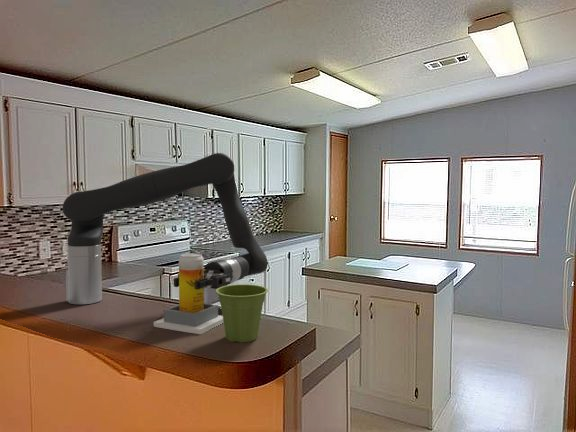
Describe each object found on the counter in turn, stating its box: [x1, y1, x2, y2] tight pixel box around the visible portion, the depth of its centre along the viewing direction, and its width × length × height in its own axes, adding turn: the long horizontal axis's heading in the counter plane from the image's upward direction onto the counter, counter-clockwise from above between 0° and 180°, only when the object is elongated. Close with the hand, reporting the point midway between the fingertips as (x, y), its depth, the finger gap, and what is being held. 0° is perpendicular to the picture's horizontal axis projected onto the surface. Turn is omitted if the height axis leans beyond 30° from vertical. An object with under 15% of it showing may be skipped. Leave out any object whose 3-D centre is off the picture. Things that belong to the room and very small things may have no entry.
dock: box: [153, 302, 224, 335], centre depth 111 cm, size 14×12×4 cm
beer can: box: [178, 252, 205, 313], centre depth 111 cm, size 6×6×15 cm
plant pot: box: [215, 283, 269, 343], centre depth 101 cm, size 12×12×11 cm
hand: (185, 284), depth 109 cm, fingers closed on beer can, 6 cm apart
